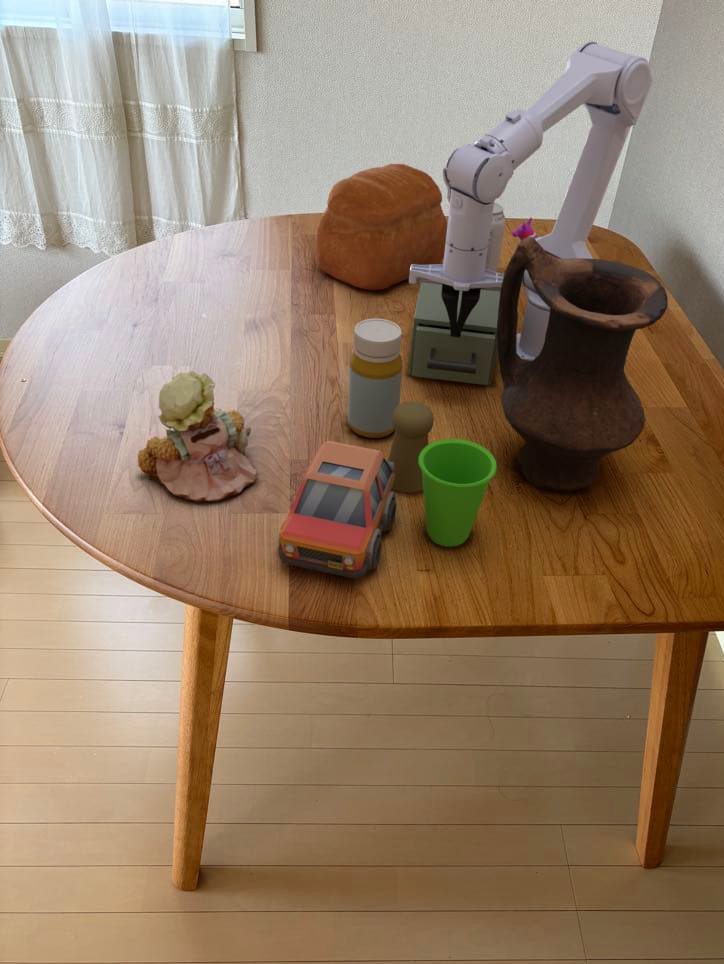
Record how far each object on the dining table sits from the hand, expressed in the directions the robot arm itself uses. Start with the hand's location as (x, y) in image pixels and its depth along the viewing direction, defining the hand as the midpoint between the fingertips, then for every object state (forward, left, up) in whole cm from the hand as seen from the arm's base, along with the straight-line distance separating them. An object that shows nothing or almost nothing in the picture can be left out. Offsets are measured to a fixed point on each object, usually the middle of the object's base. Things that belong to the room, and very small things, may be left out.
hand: (455, 333), depth 130 cm
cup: (-2, +33, -10) cm, 34 cm away
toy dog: (-16, -40, -10) cm, 44 cm away
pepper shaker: (+4, +23, -10) cm, 25 cm away
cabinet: (0, -10, -9) cm, 14 cm away
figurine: (+30, +27, -10) cm, 41 cm away
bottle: (+10, +12, -10) cm, 18 cm away
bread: (+15, -39, -10) cm, 43 cm away
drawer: (0, -5, -8) cm, 10 cm away
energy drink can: (-3, -34, -10) cm, 35 cm away
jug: (-15, +16, -10) cm, 24 cm away
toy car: (+11, +36, -10) cm, 39 cm away
